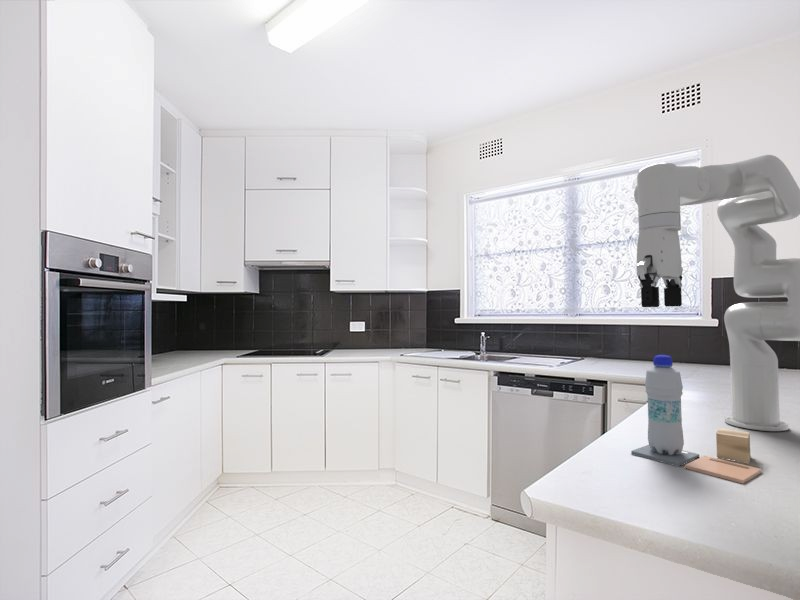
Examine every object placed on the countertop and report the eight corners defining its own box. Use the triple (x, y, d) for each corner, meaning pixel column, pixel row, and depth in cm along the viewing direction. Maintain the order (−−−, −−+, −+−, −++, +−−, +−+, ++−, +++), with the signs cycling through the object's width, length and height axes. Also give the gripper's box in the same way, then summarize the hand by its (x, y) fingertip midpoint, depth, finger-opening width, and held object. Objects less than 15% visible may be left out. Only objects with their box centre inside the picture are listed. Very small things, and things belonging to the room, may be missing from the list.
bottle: (691, 458, 84) (687, 356, 84) (654, 456, 85) (650, 356, 86) (676, 447, 90) (673, 353, 91) (642, 446, 92) (639, 353, 92)
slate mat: (652, 445, 94) (652, 442, 94) (699, 457, 86) (699, 453, 86) (631, 453, 89) (631, 450, 89) (679, 466, 81) (678, 462, 81)
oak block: (719, 452, 90) (719, 428, 90) (750, 457, 86) (749, 432, 87) (717, 458, 86) (716, 433, 86) (748, 464, 83) (748, 438, 83)
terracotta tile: (705, 458, 86) (705, 455, 86) (761, 472, 78) (761, 468, 78) (684, 468, 81) (684, 464, 81) (743, 483, 73) (743, 479, 73)
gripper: (660, 231, 97) (662, 306, 97) (619, 224, 87) (622, 307, 87) (697, 225, 91) (700, 305, 90) (658, 217, 81) (661, 307, 81)
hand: (662, 306), depth 89 cm, fingers open, 9 cm apart
